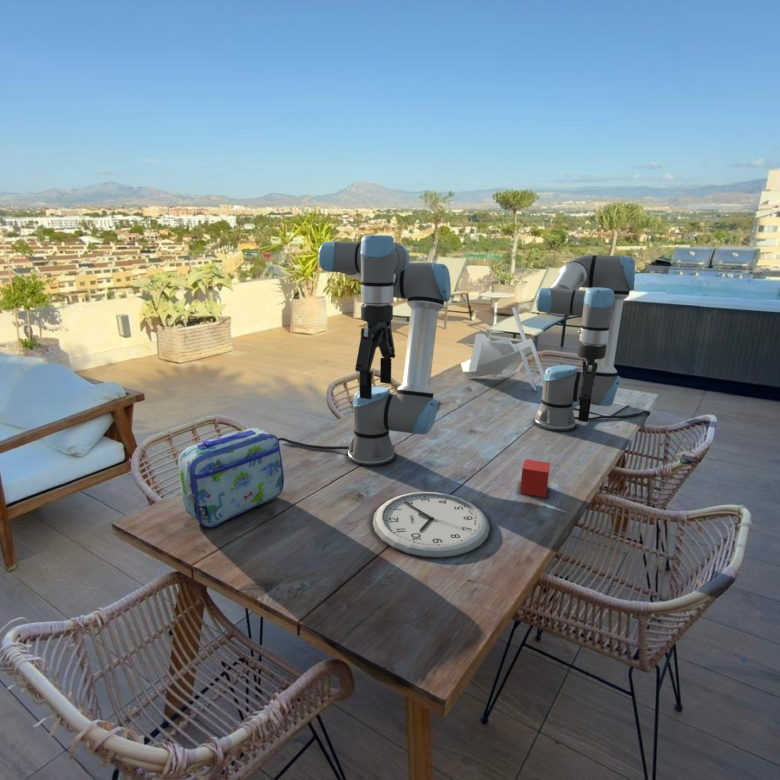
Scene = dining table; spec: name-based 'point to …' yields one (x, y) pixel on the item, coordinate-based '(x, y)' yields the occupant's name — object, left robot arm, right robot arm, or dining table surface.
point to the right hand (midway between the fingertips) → (583, 413)
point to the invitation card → (605, 408)
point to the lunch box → (230, 475)
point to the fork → (438, 399)
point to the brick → (534, 478)
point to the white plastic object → (500, 355)
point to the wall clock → (431, 524)
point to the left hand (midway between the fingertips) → (376, 390)
